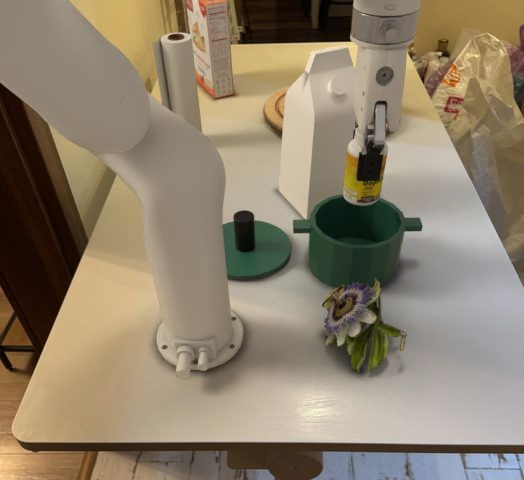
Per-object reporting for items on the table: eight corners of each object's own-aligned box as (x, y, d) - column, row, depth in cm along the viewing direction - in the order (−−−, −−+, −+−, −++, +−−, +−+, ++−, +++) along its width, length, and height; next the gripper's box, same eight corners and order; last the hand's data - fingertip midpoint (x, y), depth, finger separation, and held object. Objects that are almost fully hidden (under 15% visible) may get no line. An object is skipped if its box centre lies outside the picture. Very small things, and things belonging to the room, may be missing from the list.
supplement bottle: (359, 212, 75) (368, 144, 67) (334, 195, 78) (340, 128, 70) (387, 199, 77) (399, 132, 69) (363, 183, 80) (372, 117, 72)
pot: (420, 290, 82) (432, 246, 75) (293, 292, 82) (295, 248, 76) (404, 235, 91) (413, 192, 85) (290, 237, 92) (291, 194, 85)
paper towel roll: (204, 136, 118) (193, 30, 102) (201, 149, 114) (189, 41, 98) (173, 136, 118) (156, 31, 102) (169, 149, 114) (151, 42, 98)
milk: (331, 175, 105) (343, 32, 86) (362, 203, 98) (383, 54, 79) (278, 190, 102) (278, 44, 83) (306, 220, 95) (314, 69, 76)
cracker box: (194, 80, 139) (183, -12, 124) (214, 76, 141) (206, -16, 125) (212, 100, 131) (203, 3, 115) (234, 95, 132) (228, -1, 117)
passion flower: (329, 360, 79) (318, 283, 77) (401, 350, 78) (392, 271, 75) (329, 382, 69) (316, 293, 66) (413, 371, 67) (403, 280, 64)
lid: (292, 280, 84) (293, 244, 78) (196, 282, 84) (191, 246, 79) (289, 224, 94) (290, 189, 89) (204, 226, 95) (199, 190, 89)
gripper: (431, 50, 55) (401, 201, 68) (402, 1, 66) (381, 139, 80) (360, 52, 55) (344, 202, 68) (344, 3, 66) (333, 140, 80)
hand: (364, 166), depth 74 cm, fingers closed on supplement bottle, 5 cm apart
